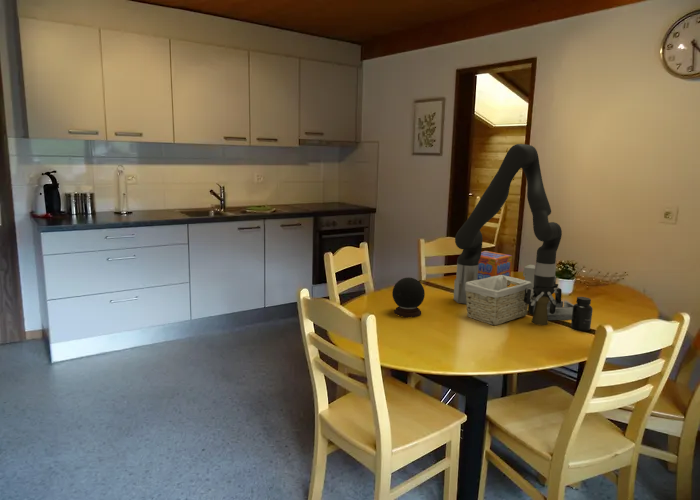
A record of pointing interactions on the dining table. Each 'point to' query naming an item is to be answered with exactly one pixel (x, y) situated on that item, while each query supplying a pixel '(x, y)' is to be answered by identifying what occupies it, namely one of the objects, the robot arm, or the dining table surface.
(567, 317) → the grey wooden tray
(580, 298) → the supplement bottle
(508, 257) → the game box
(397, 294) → the black ball on stand
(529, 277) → the circuit breaker
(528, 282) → the storage basket
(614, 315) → the dining table surface
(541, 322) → the cork
